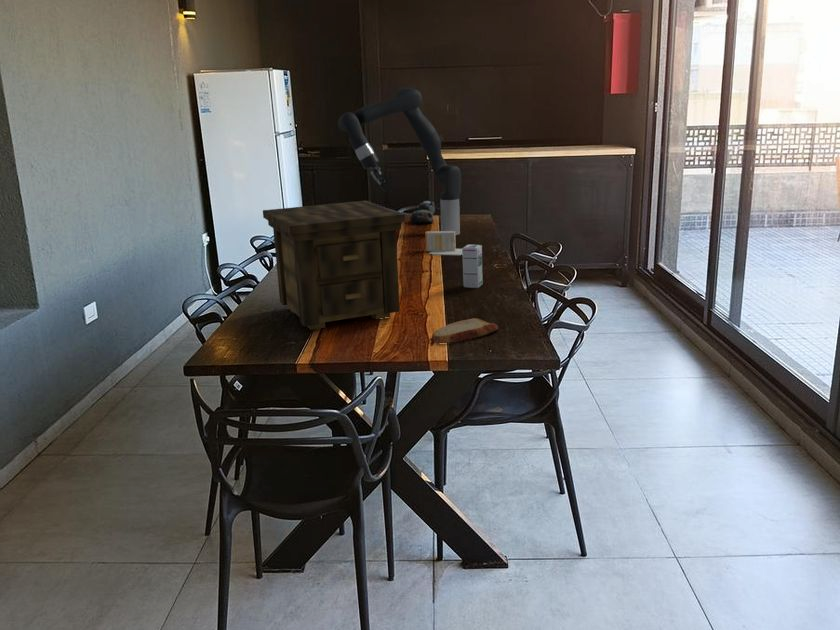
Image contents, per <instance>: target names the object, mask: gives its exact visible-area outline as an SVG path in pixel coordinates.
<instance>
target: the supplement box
mask: <svg viewBox="0 0 840 630" xmlns="http://www.w3.org/2000/svg"><path fill="white" fill-rule="evenodd" d="M424 236H425V252H431V251H455V250H456V249H457V247H456V246H457V245H456V235H455V231H441V230H433V231H425V233H424Z"/></svg>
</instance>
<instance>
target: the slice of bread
mask: <svg viewBox="0 0 840 630" xmlns="http://www.w3.org/2000/svg"><path fill="white" fill-rule="evenodd" d="M498 329H499V326H498V324H496V323H491V322H487V321H485V320H483V319H481V318H477V317H476V318H475V317H473V318H469V319H464V320H459V321H455V322H452V323H449V324H446V325H445V326H443V327H440V328H438V329H437V330H435V331H434V332H433V333H432V335H431V341H432V340H433V342H435V343H447V342H455V343H457V342H456V341H461V342H463V341H462V340H465V341H467V340H466V339H470V340H473V339H472V338H474V339H476V338H477V339H478V338H481V337H484V336H487V335H489V334H492V333H495V332H496V331H497V330H498ZM433 342H432V343H433ZM435 343H434V344H435Z"/></svg>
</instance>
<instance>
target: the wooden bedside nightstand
mask: <svg viewBox="0 0 840 630" xmlns="http://www.w3.org/2000/svg"><path fill="white" fill-rule="evenodd" d="M406 215H407V214H406V213H403V212H401V211H398V210H395V209H392V208H388V207H386V206H383V205H379V204H376V203H374V202H371V201H369V200H359V201H356V200H355V201H347V202H346V201H345V202H337V203H336V202H335V203H328V204H327V203H326V204H314V205H305V206H297V207H296V206H295V207H284V208H283V207H282V208H274V209H273V208H272V209H263V210H262V216H263V219H265V220H267V222H268V226H269V227H271V228H272V229H273V230H272V232H273V239H274V249H275V250H274V251H275V252H274V253H275V259H276V261H275V262H276V273H277V282H278V293H279V302H280V304H281V305H283V306H287V307H288V308H289V311H290V312H291V313H292V314H295V315H296V316H297V317H298V318H299V323H300V324H301V325H302V327H306V326H307V327H308V328H309V329H310V330H312V331H314V330H313V329H318V330H321V329H320V328H325V329H326V323H329V322H334V321H340V320H346V319H348V320H349V319H355V318H359V317H366V316H370V317H371V316H373V317H374V318H375V319H380V318H385V317H390V318H391V314H392V313H401V312H400V311H401V310H400V308H401V307H400V289H399V288H400V287H399V271H398V270H399V268H398V267H399V266H398V248H397V243H398V242H397V241H398V240H397V231H401V230H402V225H401V223H407V219H406V218H407V216H406ZM373 317H372V318H373ZM374 318H373V319H374ZM375 319H374V320H375ZM307 327H306V328H307ZM308 328H307V329H308ZM309 329H308V330H309ZM310 330H309V331H310Z"/></svg>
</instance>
